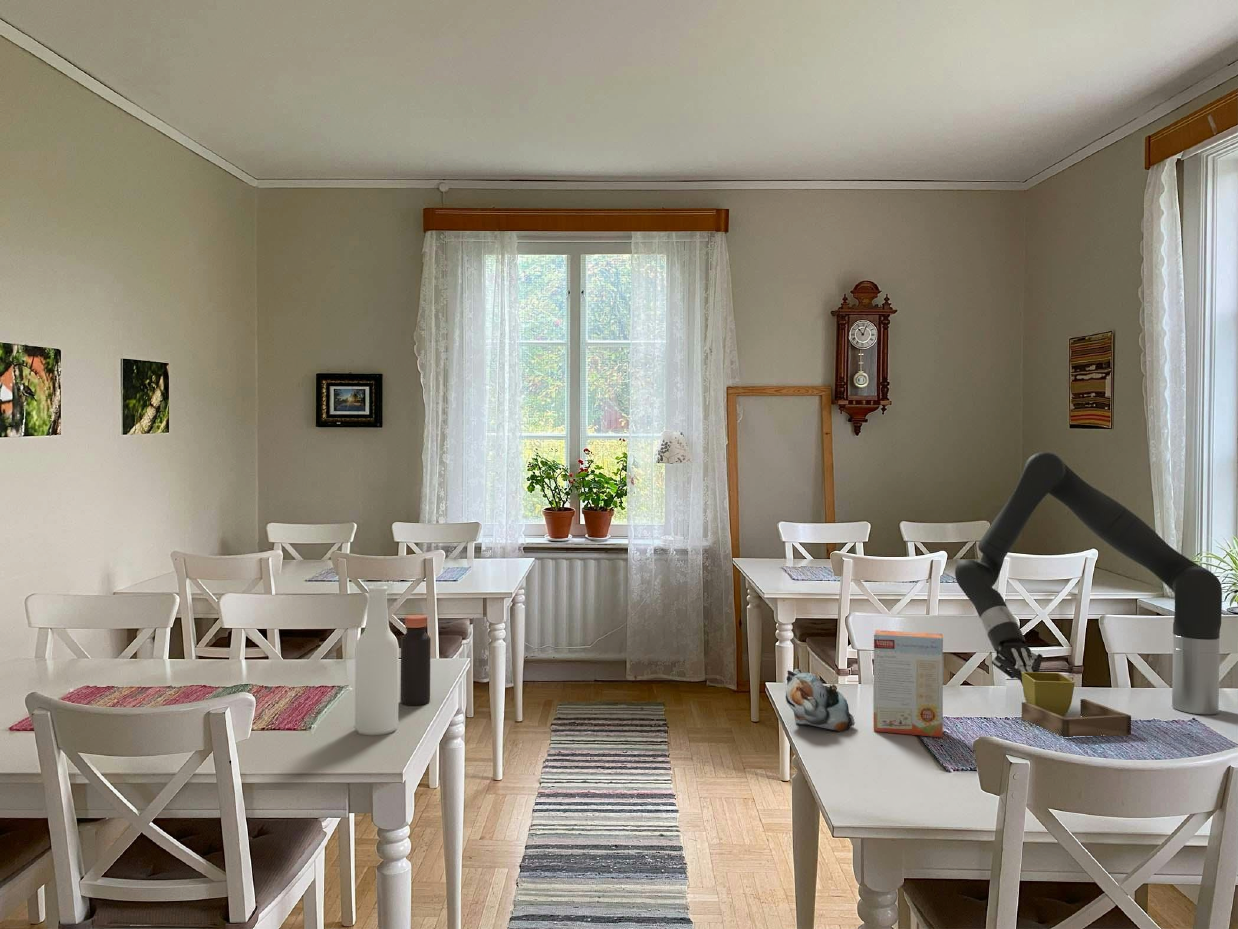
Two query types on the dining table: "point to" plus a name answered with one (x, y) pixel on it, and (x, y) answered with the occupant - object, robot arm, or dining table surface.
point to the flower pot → (1048, 691)
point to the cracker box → (908, 683)
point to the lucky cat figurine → (817, 702)
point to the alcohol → (376, 670)
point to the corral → (1080, 720)
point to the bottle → (415, 662)
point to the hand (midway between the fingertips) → (1033, 692)
